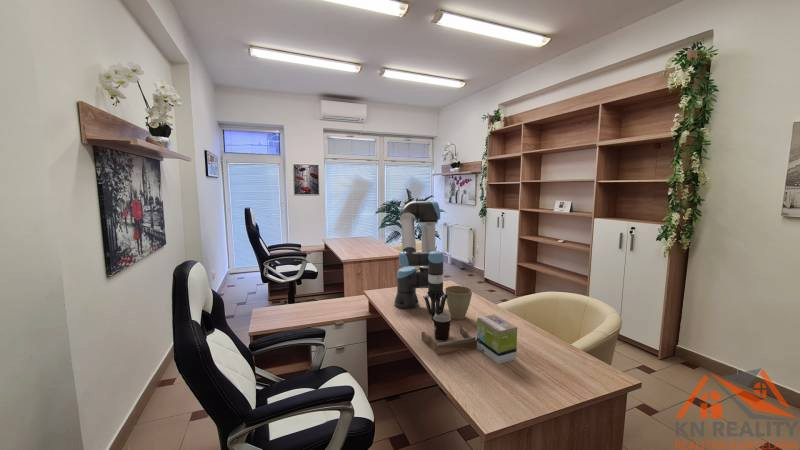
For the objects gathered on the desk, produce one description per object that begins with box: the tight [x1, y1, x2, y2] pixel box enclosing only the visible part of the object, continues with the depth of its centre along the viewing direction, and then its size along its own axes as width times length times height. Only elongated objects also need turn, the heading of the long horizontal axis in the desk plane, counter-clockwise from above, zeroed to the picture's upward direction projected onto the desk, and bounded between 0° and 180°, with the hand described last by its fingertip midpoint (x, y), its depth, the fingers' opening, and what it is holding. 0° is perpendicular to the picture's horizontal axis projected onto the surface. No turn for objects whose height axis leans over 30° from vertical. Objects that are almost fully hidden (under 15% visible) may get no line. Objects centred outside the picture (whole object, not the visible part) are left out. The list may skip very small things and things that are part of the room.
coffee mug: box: [432, 314, 452, 342], centre depth 154 cm, size 12×9×10 cm
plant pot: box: [444, 285, 473, 320], centre depth 178 cm, size 15×15×16 cm
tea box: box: [476, 314, 518, 365], centre depth 138 cm, size 15×10×15 cm
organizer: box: [421, 325, 478, 356], centre depth 147 cm, size 16×22×5 cm
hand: (435, 326), depth 162 cm, fingers closed
